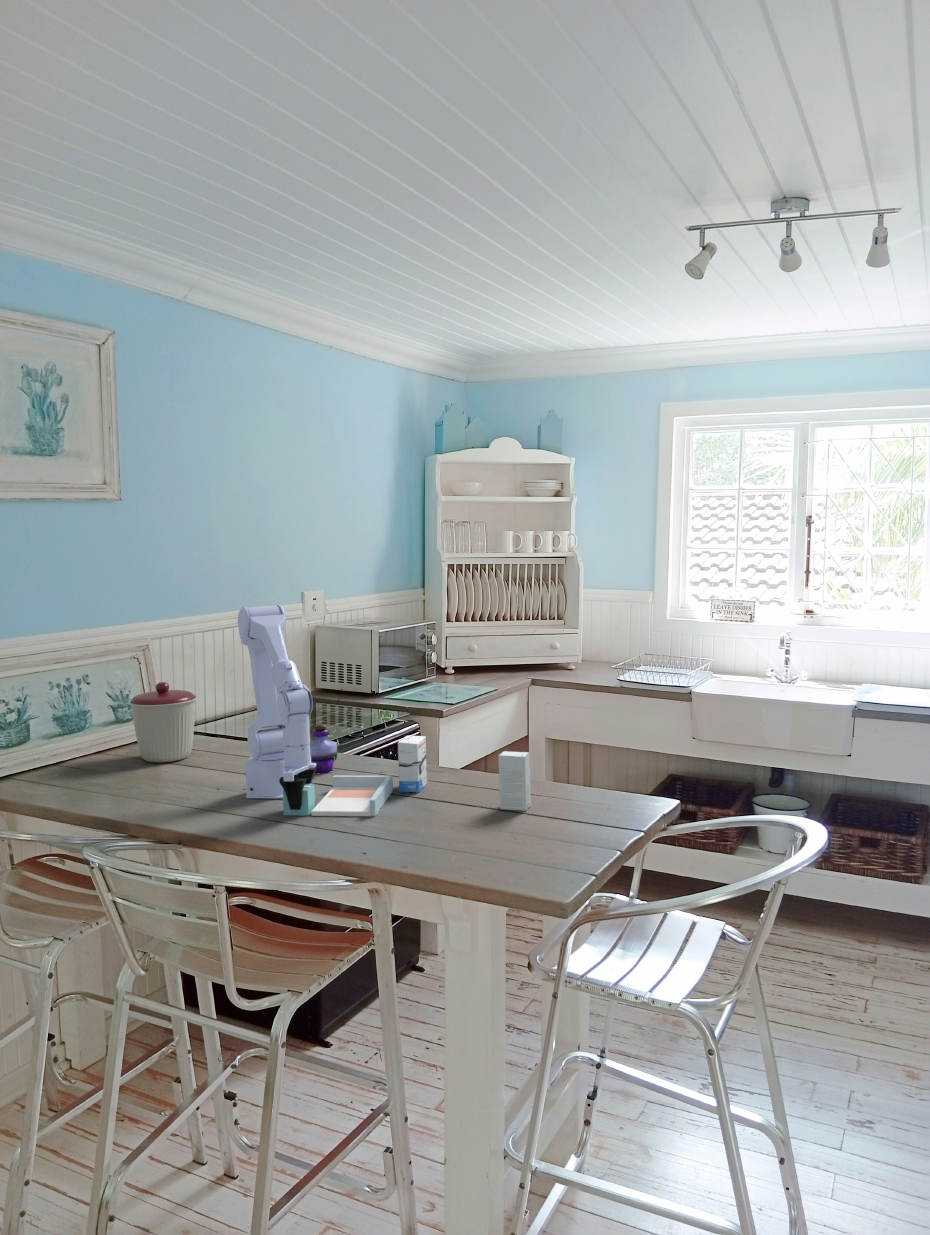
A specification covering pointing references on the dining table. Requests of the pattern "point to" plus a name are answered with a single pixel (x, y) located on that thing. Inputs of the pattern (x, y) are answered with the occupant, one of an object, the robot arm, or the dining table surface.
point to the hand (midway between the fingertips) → (299, 805)
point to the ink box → (412, 763)
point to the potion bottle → (322, 750)
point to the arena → (355, 796)
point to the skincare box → (514, 780)
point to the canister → (164, 723)
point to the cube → (307, 801)
